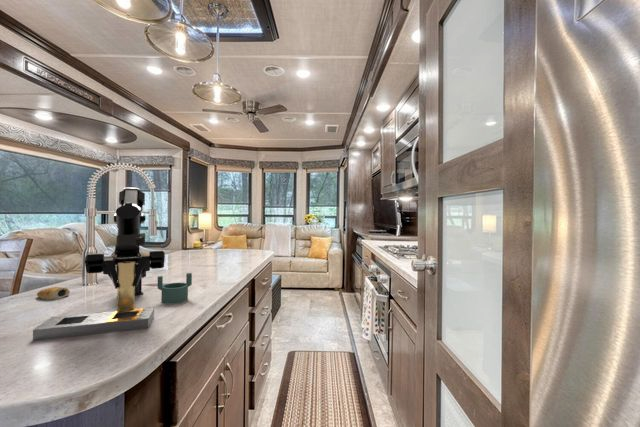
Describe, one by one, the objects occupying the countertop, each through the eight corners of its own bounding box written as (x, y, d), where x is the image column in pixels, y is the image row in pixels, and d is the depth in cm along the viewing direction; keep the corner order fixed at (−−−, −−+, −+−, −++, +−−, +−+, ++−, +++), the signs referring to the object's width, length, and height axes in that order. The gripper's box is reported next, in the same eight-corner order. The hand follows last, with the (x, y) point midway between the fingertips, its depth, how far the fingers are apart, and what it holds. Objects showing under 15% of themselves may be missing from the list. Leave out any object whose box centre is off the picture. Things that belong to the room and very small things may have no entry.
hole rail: (32, 340, 70) (32, 329, 70) (51, 326, 79) (51, 316, 78) (148, 328, 79) (148, 317, 78) (154, 316, 87) (154, 307, 87)
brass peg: (126, 306, 83) (127, 260, 83) (138, 308, 82) (138, 261, 82) (113, 311, 79) (114, 263, 79) (125, 313, 78) (125, 264, 78)
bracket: (193, 297, 107) (193, 272, 107) (175, 305, 98) (175, 278, 98) (172, 295, 109) (172, 271, 109) (152, 302, 100) (153, 276, 100)
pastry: (29, 299, 102) (30, 288, 102) (50, 294, 108) (50, 283, 108) (53, 301, 100) (53, 289, 100) (72, 295, 107) (73, 285, 107)
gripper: (86, 224, 79) (77, 273, 70) (164, 223, 89) (166, 266, 79) (90, 249, 86) (83, 297, 76) (163, 246, 95) (164, 289, 86)
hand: (126, 287), depth 79 cm, fingers closed on brass peg, 4 cm apart
